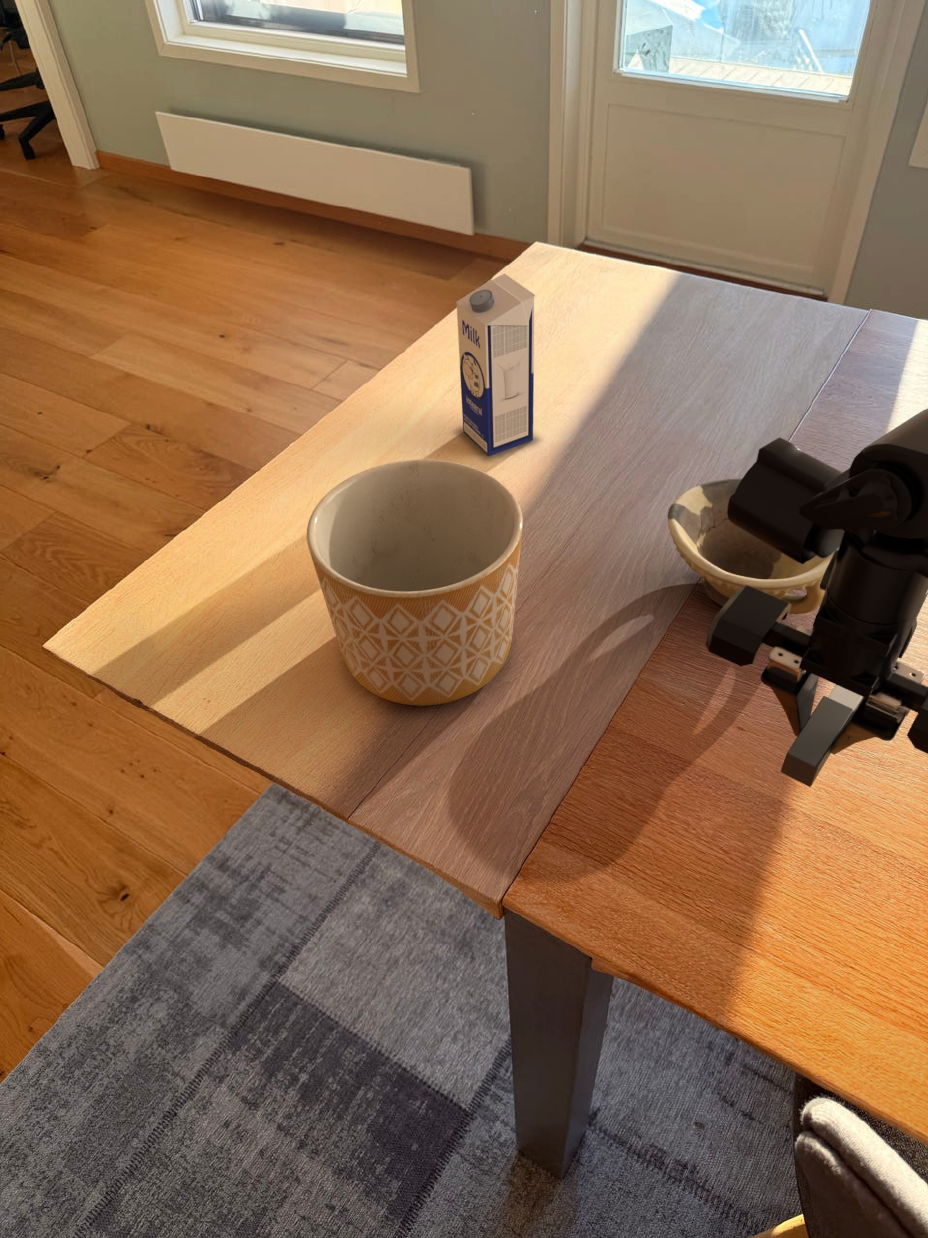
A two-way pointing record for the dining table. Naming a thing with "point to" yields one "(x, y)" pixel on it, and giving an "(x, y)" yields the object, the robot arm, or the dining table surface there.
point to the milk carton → (497, 364)
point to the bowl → (737, 551)
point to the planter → (419, 577)
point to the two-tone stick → (819, 735)
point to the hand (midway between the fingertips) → (817, 741)
